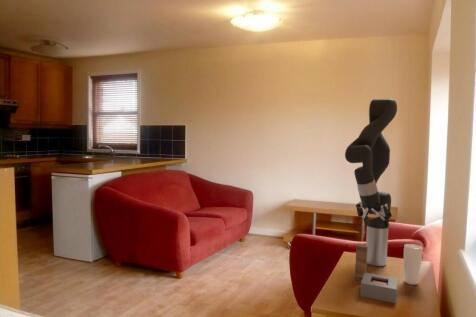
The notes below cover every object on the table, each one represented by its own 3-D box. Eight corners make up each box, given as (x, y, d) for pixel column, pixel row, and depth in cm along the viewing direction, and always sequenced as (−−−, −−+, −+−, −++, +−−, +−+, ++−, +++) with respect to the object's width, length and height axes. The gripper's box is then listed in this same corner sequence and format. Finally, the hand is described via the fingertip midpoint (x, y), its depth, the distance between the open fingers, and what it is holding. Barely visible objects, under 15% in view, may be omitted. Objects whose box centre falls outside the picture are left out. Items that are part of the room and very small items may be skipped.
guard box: (363, 284, 151) (364, 272, 151) (396, 290, 147) (397, 278, 146) (360, 296, 140) (360, 282, 140) (395, 303, 136) (396, 289, 135)
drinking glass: (419, 287, 151) (421, 249, 150) (400, 283, 154) (402, 246, 153) (421, 281, 157) (423, 245, 156) (403, 278, 160) (405, 242, 159)
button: (372, 284, 147) (373, 280, 146) (386, 287, 145) (386, 282, 144) (371, 289, 142) (372, 284, 142) (385, 291, 140) (385, 287, 140)
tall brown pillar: (355, 276, 160) (357, 243, 159) (365, 278, 159) (367, 244, 158) (354, 279, 157) (356, 245, 156) (364, 281, 155) (366, 247, 154)
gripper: (388, 187, 156) (397, 223, 159) (357, 187, 167) (366, 220, 170) (379, 195, 151) (388, 232, 155) (348, 194, 162) (357, 228, 166)
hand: (377, 226), depth 162 cm, fingers open, 8 cm apart
